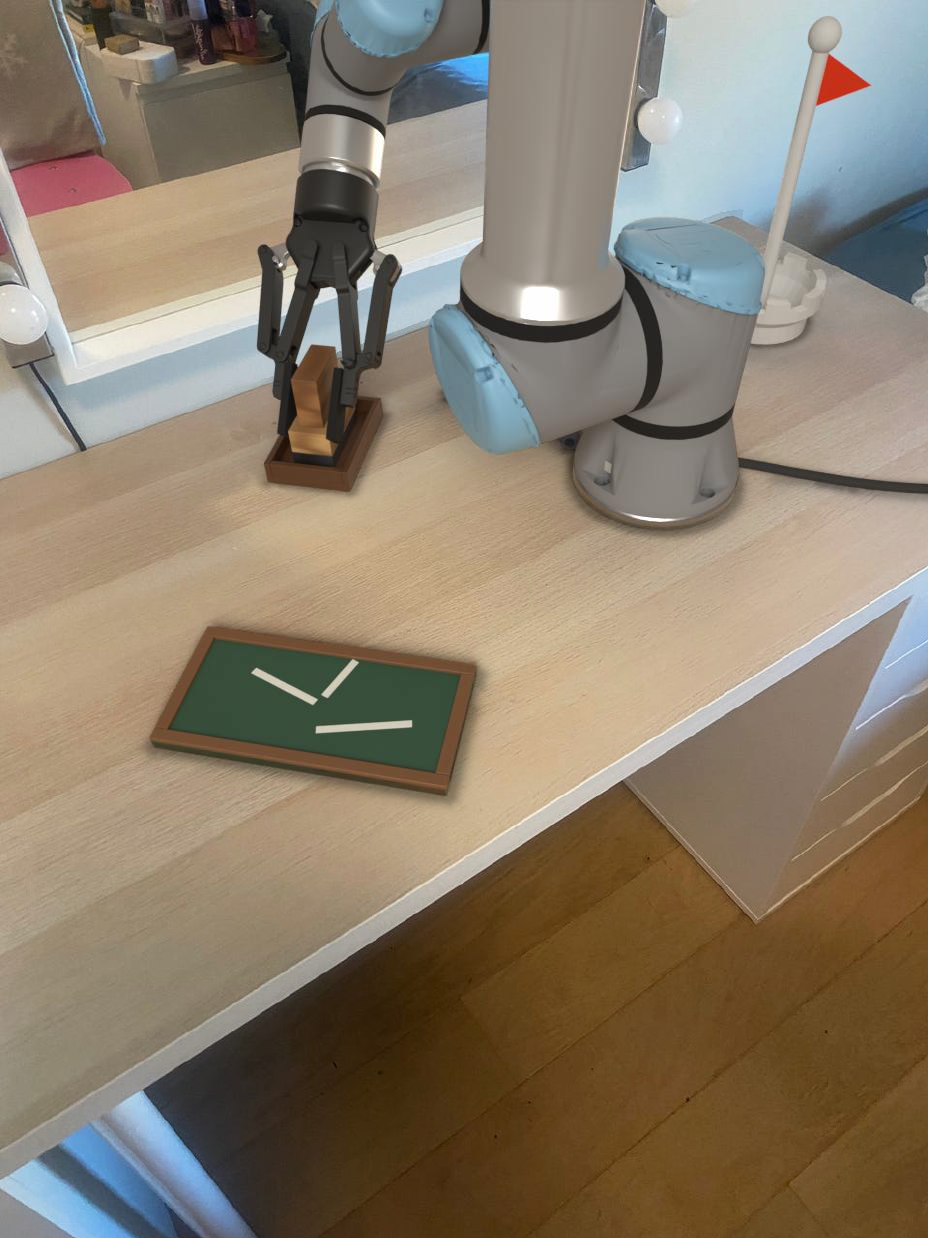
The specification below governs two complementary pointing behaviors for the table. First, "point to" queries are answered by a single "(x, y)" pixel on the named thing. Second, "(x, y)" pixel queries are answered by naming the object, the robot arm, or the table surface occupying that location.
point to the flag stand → (788, 282)
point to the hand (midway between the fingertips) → (309, 438)
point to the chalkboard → (320, 709)
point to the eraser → (316, 409)
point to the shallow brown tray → (348, 464)
